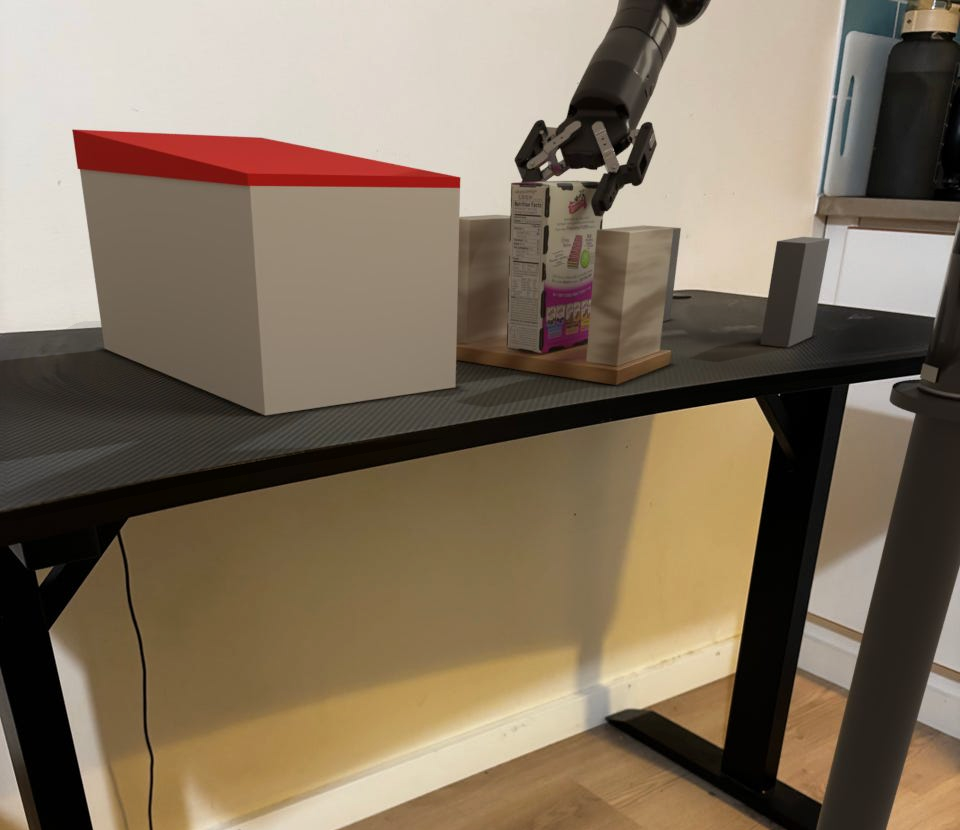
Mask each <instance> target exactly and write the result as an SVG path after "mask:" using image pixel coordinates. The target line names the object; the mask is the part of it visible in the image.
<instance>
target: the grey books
mask: <svg viewBox="0 0 960 830" xmlns="http://www.w3.org/2000/svg"><path fill="white" fill-rule="evenodd" d="M658 226H659V227H661V226H660V225H658ZM681 229H682V228H681V227H675V226H673V237H672V246H671V255H670V263H669V272H668V281H667V290H666V298H665V307H664V316H663V322H667V321H670V320H671V315H672V309H673V307H672V306H673V299H674V290H675V282H676V274H677V264H678V256H679V249H680V248H679V247H680V238H681V231H682V230H681ZM829 245H830V238H825V237H814V236H813V237H812V236H799V237H794V238H788V239H782V240H781V239H780V240H777V241H776V245H775V252H774V258H773V263H772V269H771V276H770V282H769V288H768V295H767V300H766V306H765V307H766V308H765V313H764V320H763V321H764V322H763V325H762V332H761V339H760V345H763V346H770V347H778V348H779V347H780V348H787V349H788V348H790V347H793V346H794V345H797V344H799V343H801V342H804V341H806V340H807V339H809V338H811V337H813V334H814V327H815V321H816V316H817V311H818V305H819V301H820V295H821V288H822V283H823V278H824V272H825V267H826V263H827V256H828V250H829Z"/></svg>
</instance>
